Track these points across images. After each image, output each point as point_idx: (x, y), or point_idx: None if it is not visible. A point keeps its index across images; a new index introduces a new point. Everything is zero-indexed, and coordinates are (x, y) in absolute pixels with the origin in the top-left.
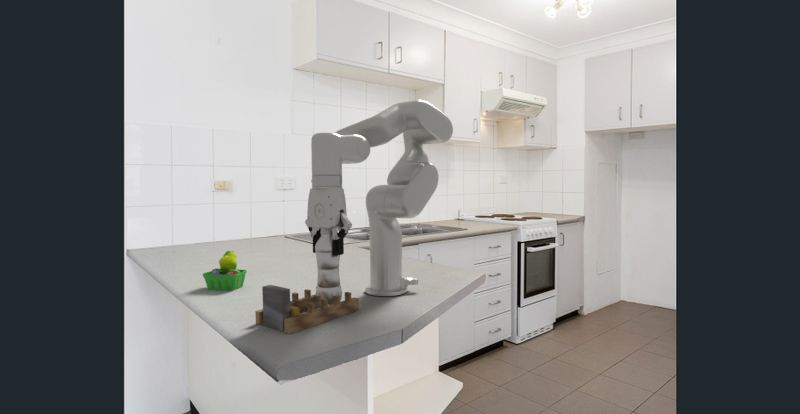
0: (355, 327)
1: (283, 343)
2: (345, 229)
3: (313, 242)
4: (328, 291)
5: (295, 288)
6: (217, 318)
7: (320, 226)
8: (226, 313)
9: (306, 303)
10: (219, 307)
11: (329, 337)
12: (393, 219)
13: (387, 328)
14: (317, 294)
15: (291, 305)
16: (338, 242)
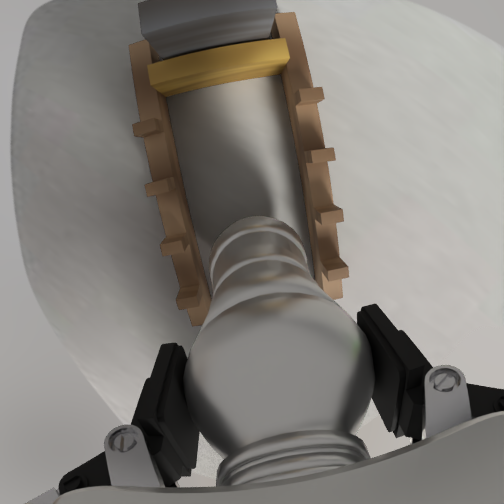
0: (76, 215)
1: (99, 31)
2: (50, 495)
3: (397, 343)
4: (218, 246)
5: (487, 288)
6: (397, 2)
7: (273, 493)
8: (424, 36)
9: (308, 196)
10: (475, 61)
11: (59, 129)
12: None
13: (39, 267)
14: (261, 218)
15: (299, 131)
16: (133, 418)
